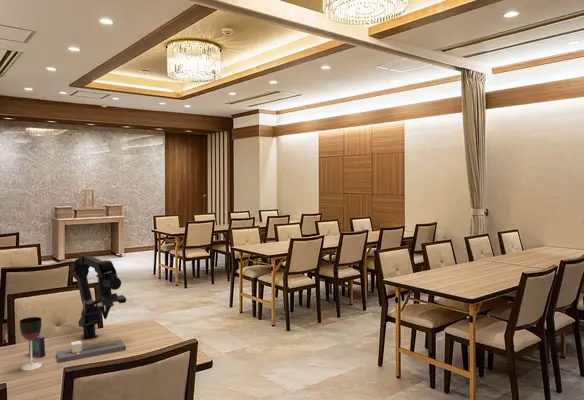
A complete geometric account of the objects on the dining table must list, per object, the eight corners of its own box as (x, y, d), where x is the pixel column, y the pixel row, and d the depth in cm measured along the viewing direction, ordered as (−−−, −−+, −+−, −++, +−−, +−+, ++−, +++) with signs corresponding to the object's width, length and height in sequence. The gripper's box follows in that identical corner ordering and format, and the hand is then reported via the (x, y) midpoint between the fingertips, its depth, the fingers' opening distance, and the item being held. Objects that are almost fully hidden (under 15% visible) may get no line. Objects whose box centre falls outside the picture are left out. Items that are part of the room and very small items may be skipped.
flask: (27, 354, 206) (27, 331, 206) (33, 352, 208) (33, 329, 208) (41, 357, 202) (41, 334, 202) (47, 355, 205) (47, 332, 204)
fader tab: (71, 350, 205) (70, 342, 205) (80, 348, 207) (80, 340, 207) (72, 353, 201) (72, 345, 201) (82, 351, 203) (81, 343, 203)
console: (56, 355, 204) (56, 351, 204) (120, 343, 219) (120, 339, 219) (58, 363, 196) (58, 358, 195) (125, 349, 211) (125, 345, 211)
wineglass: (26, 372, 186) (25, 324, 185) (17, 367, 191) (15, 320, 191) (46, 366, 192) (45, 319, 192) (36, 361, 198) (35, 316, 197)
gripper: (86, 292, 207) (87, 326, 208) (128, 287, 218) (129, 319, 218) (82, 288, 217) (83, 320, 217) (123, 283, 227) (123, 314, 227)
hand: (105, 318), depth 220 cm, fingers closed
